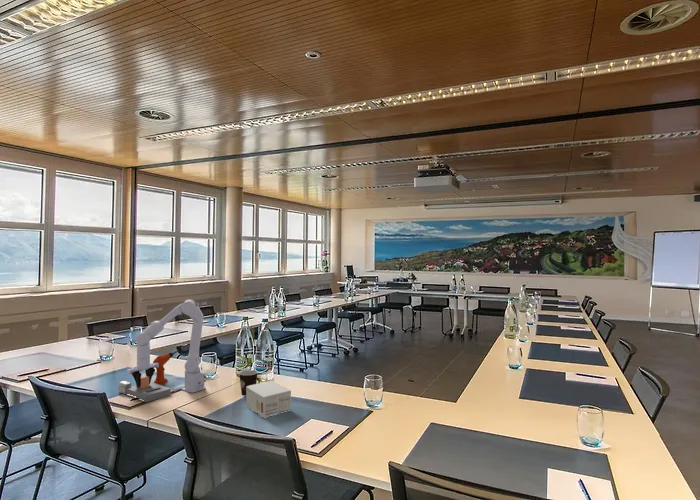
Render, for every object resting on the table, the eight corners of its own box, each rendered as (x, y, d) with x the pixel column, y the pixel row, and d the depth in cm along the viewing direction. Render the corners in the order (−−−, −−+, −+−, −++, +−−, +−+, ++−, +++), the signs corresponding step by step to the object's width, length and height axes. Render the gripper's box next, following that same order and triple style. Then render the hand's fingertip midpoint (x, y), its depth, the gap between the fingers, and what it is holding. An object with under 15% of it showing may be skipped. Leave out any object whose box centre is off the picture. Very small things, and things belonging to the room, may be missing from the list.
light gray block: (130, 393, 198) (130, 382, 198) (125, 394, 196) (125, 384, 196) (124, 390, 202) (124, 380, 202) (119, 392, 199) (119, 382, 199)
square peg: (149, 390, 199) (149, 376, 199) (141, 393, 196) (140, 378, 196) (144, 389, 202) (144, 375, 202) (136, 391, 198) (136, 377, 198)
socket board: (170, 394, 196) (170, 388, 196) (146, 402, 186) (146, 395, 186) (150, 387, 206) (150, 381, 206) (125, 394, 196) (125, 388, 196)
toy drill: (183, 372, 227) (180, 346, 225) (159, 387, 209) (157, 359, 207) (175, 371, 228) (173, 345, 226) (151, 386, 210) (149, 358, 208)
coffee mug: (237, 392, 200) (237, 371, 200) (255, 389, 204) (255, 369, 204) (242, 399, 190) (242, 378, 190) (261, 396, 194) (261, 375, 194)
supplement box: (245, 407, 181) (245, 386, 181) (272, 400, 189) (272, 380, 189) (263, 419, 168) (263, 396, 168) (291, 411, 176) (291, 389, 176)
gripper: (153, 352, 207) (153, 379, 207) (123, 359, 195) (123, 387, 195) (161, 355, 203) (161, 382, 203) (131, 361, 191) (131, 390, 191)
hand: (143, 385), depth 199 cm, fingers open, 4 cm apart
